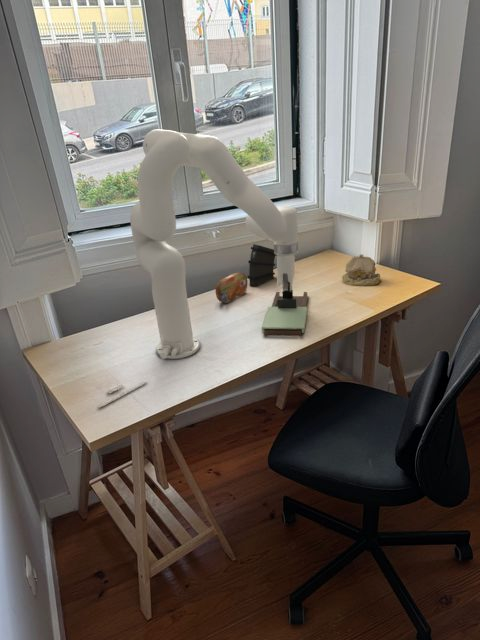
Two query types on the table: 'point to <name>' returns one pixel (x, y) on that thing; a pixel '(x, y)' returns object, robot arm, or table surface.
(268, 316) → the lid
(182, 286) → the robot arm
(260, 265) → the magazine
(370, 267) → the ceramic model
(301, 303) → the tray
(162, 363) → the table surface
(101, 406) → the picture light
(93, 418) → the table surface
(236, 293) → the tin
